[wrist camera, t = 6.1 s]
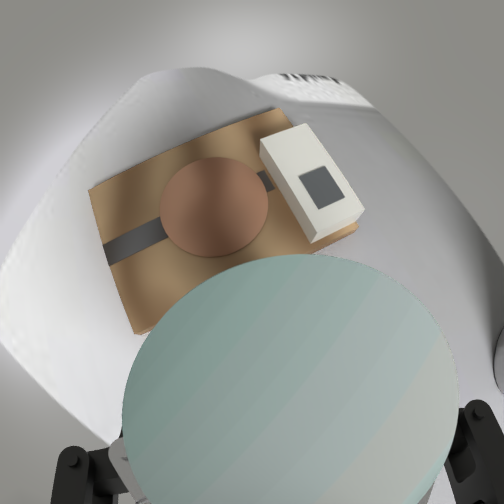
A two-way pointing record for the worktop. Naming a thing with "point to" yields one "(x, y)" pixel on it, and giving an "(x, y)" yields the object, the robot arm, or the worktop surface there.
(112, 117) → the worktop surface
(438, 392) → the spray paint can
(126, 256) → the plywood panel
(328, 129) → the worktop surface
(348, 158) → the worktop surface
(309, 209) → the block
